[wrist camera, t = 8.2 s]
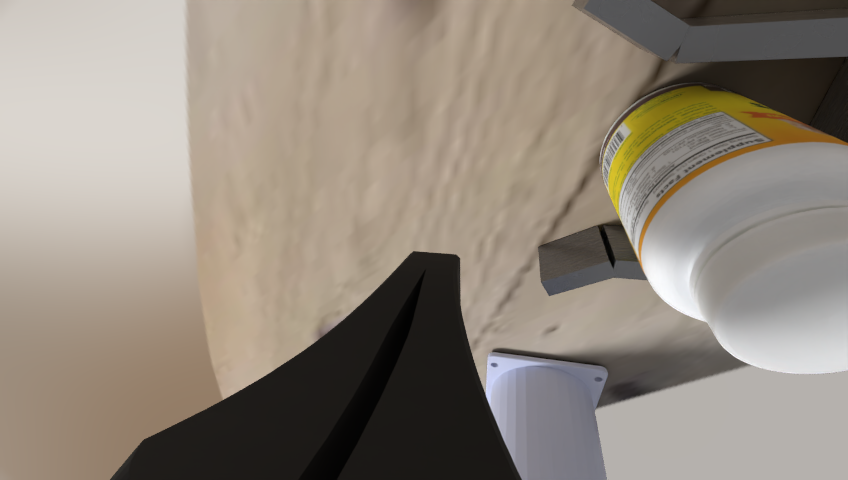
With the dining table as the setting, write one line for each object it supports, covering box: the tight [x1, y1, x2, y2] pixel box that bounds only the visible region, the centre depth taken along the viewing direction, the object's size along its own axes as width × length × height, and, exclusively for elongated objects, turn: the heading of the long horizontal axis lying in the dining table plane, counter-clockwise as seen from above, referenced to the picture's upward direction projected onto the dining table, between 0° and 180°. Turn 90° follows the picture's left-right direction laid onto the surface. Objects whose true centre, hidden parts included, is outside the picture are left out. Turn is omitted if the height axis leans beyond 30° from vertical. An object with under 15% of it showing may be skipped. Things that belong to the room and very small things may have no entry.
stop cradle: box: [538, 0, 848, 296], centre depth 14 cm, size 18×10×3 cm, turn 4°
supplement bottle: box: [600, 83, 848, 374], centre depth 11 cm, size 6×6×10 cm
